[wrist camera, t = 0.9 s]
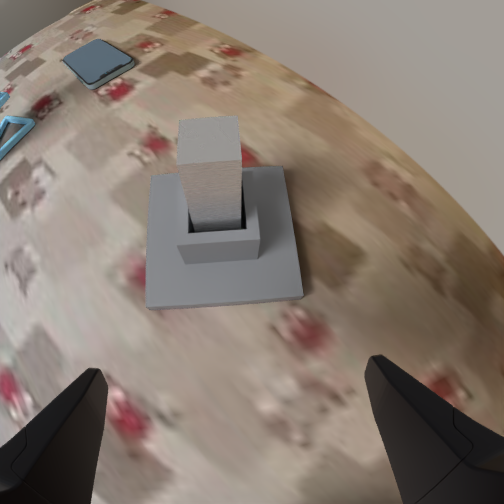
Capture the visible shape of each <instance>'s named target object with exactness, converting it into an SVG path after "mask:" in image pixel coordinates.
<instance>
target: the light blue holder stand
mask: <svg viewBox="0 0 504 504" xmlns="http://www.w3.org/2000/svg"><path fill="white" fill-rule="evenodd" d="M9 98H10V96H9V94H8V93H7V92H0V108H1V107H2V106H3V105H4V104H5V102H6V101H7V100H8V99H9ZM8 122H11V123H18V124H24V125H25V126H23V127H22V128H21V129H20V130H19V131H18V132H17V133H16V134H15V135H14V136H13V137H12V138H11V139H10V140H9V141H8V142H6V143H5V144H4V145H3V146H2V147H1V148H0V160H1V159H2V158H3V157H4V156H5V155H6V153H7V152H8V151H9V150H10V149H11V148H12V147H13V146H14V145H15V144H16V143H17V142H18V141H19V140H20V139H21V138H22V137H23V136H24V135H25V134H27V133H28V132H29V131H30V130H31V129H32V128H33V127H34V125H35V123H34V121H33V119H28V118H21V117H14V116H6V117H5V118H4V119H3V120H2V122H1V124H0V137H1V135H2V133H3V131H4V129H5V127H6V125H7V124H8Z"/></svg>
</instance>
